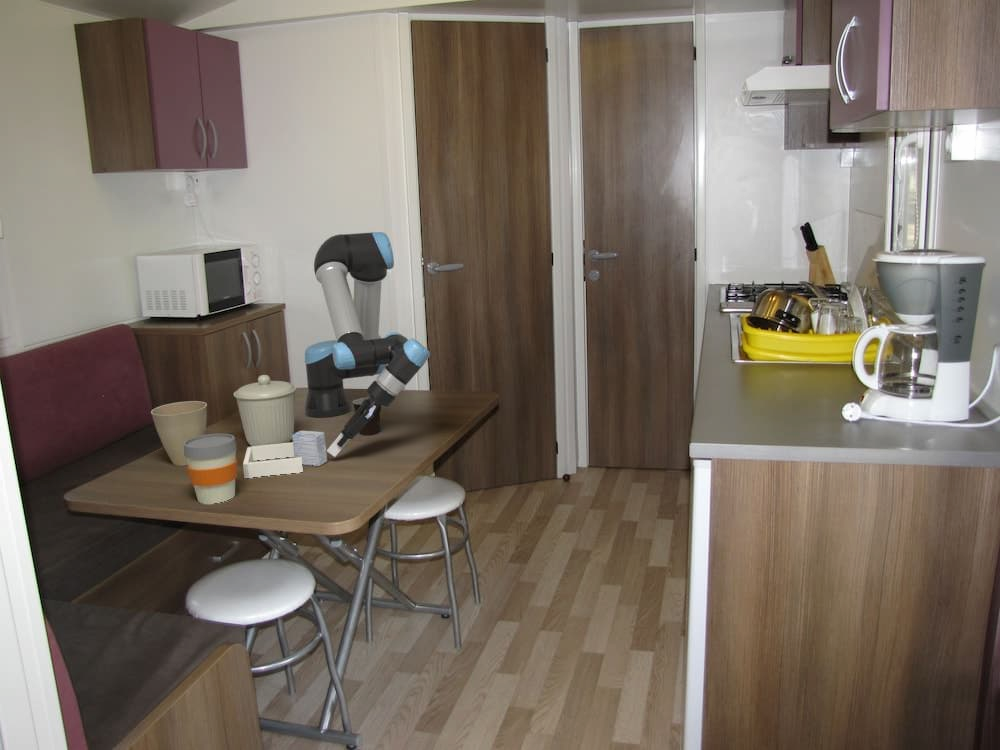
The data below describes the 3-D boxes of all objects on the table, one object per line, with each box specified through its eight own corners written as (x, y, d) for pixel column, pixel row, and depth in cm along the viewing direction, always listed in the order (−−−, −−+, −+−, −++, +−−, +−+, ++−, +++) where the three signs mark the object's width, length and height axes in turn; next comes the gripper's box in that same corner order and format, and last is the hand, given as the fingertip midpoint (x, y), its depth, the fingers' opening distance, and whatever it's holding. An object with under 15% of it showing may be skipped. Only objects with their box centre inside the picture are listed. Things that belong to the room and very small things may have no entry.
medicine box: (327, 461, 252) (325, 431, 250) (318, 466, 248) (315, 436, 246) (303, 459, 255) (300, 430, 253) (294, 464, 251) (291, 434, 249)
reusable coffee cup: (179, 504, 224) (171, 446, 221) (212, 487, 236) (205, 431, 232) (221, 509, 220) (213, 449, 216) (252, 491, 231) (246, 434, 228)
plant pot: (194, 450, 268) (187, 398, 265) (224, 459, 259) (217, 405, 256) (148, 464, 257) (140, 410, 254) (177, 473, 248) (169, 417, 244)
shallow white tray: (249, 460, 257) (247, 446, 256) (304, 454, 259) (302, 441, 258) (244, 478, 241) (242, 464, 240) (302, 472, 244) (301, 458, 243)
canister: (313, 441, 272) (307, 372, 267) (261, 456, 259) (253, 385, 255) (279, 431, 284) (272, 365, 280) (228, 446, 272) (219, 377, 267)
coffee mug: (378, 436, 273) (375, 404, 271) (351, 436, 275) (348, 404, 273) (390, 425, 285) (388, 394, 282) (364, 425, 286) (361, 394, 284)
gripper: (398, 401, 245) (342, 468, 246) (394, 391, 257) (340, 454, 258) (376, 385, 243) (320, 452, 243) (373, 374, 255) (319, 438, 256)
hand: (331, 453), depth 251 cm, fingers closed
